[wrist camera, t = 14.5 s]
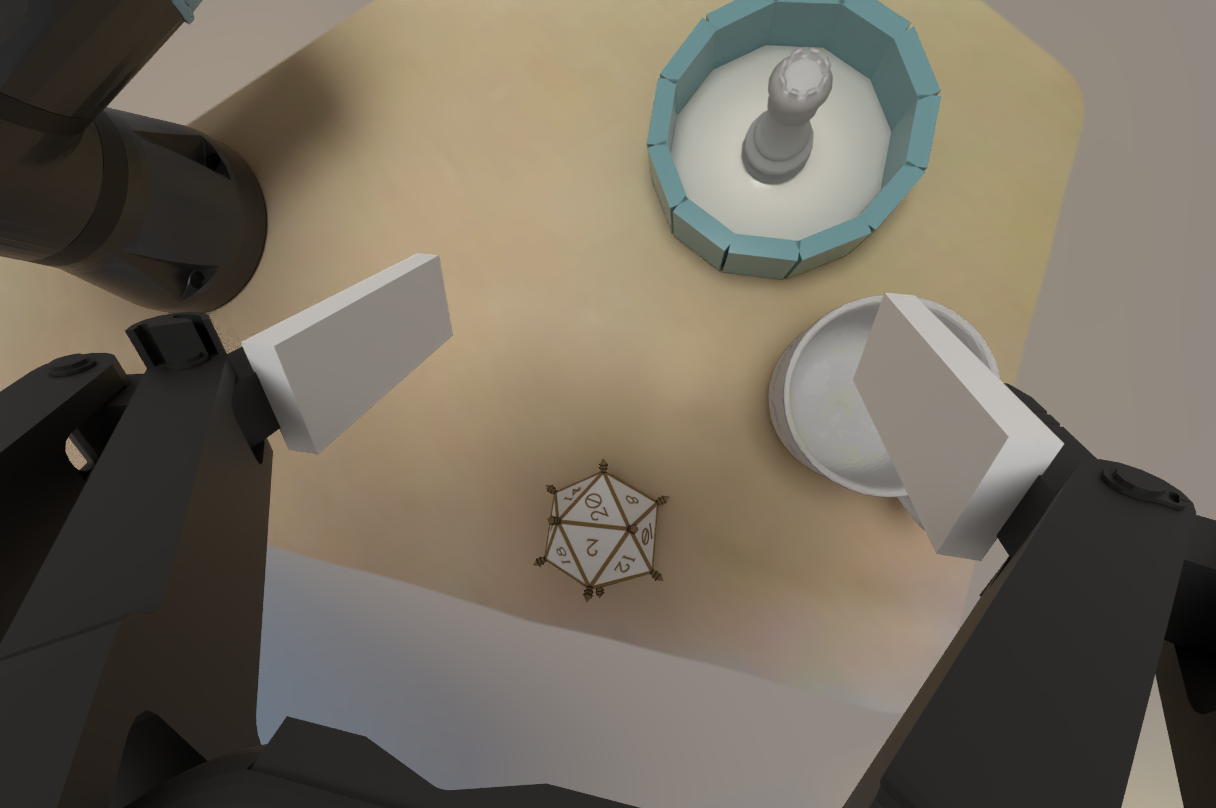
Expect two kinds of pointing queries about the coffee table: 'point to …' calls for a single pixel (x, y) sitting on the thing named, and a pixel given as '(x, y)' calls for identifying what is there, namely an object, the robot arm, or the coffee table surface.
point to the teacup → (845, 399)
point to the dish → (843, 125)
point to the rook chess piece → (788, 117)
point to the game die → (602, 532)
